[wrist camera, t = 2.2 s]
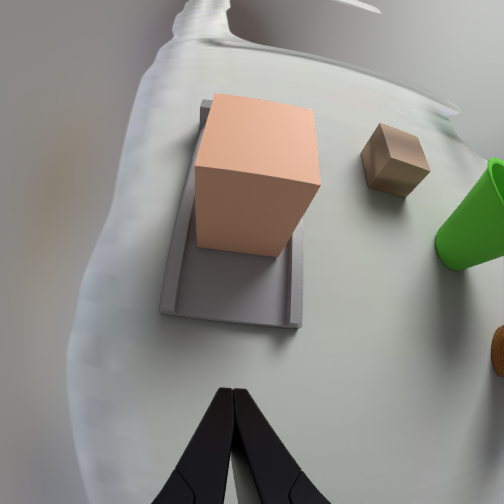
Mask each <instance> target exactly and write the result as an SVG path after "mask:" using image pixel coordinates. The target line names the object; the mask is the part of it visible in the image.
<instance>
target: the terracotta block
mask: <svg viewBox="0 0 504 504" xmlns="http://www.w3.org/2000/svg"><path fill="white" fill-rule="evenodd" d="M320 186H321V182H320V170H319V159H318V149H317V139H316V130H315V122H314V114H313V110H310V109H305V108H301V107H296V106H292V105H287V104H282V103H276V102H271V101H265V100H259V99H253V98H247V97H240V96H232V95H224V94H215V95H214V98H213V102H212V105H211V108H210V112H209V115H208V118H207V122H206V125H205V129H204V132H203V136H202V139H201V143H200V147H199V151H198V154H197V158H196V162H195V208H196V234H197V247H200V248H208V249H216V250H223V251H231V252H239V253H247V254H254V255H262V256H270V257H279V255H280V254H281V252H282V250H283V249H284V247H285V245H286V244H287V242H288V240H289V239H290V237H291V235H292V234H293V232H294V230H295V228H296V227H297V225H298V223H299V222H300V220H301V218H302V217H303V215H304V213H305V212H306V210H307V208H308V206H309V205H310V203H311V201H312V199H313V198H314V196H315V194H316V193H317V191H318V189H319V187H320Z"/></svg>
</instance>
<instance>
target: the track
mask: <svg viewBox="0 0 504 504" xmlns="http://www.w3.org/2000/svg"><path fill="white" fill-rule="evenodd" d="M212 102H213V100H202V103H201V106H200V130H199V134H198V137H197V140H196V144H195V147H194V151H193V155H192V158H191V162H190V166H189V169H188V173H187V177H186V181H185V185H184V189H183V193H182V197H181V201H180V205H179V210H178V214H177V218H176V223H175V227H174V232H173V236H172V241H171V246H170V251H169V256H168V261H167V266H166V272H165V277H164V283H163V288H162V294H161V300H160V306H159V312H160V313H162V314H169V315H176V316H182V317H190V318H197V319H205V320H213V321H221V322H230V323H239V324H249V325H259V326H270V327H283V328H296V329H299V328H301V327H302V302H303V217H302V218H301V220H300V222H299V223H298V225H297V227H296V228H295V230H294V232H293V234H292V235H291V237H290V239H289V240H288V242H287V244H286V245H285V247H284V249H283V250H282V252H281V254H280V255H279V257H270V256H262V255H254V254H247V253H239V252H231V251H223V250H216V249H208V248H200V247H197V234H196V208H195V162H196V158H197V154H198V151H199V147H200V143H201V139H202V136H203V132H204V129H205V125H206V122H207V118H208V115H209V112H210V108H211V105H212Z"/></svg>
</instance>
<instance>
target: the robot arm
mask: <svg viewBox="0 0 504 504" xmlns="http://www.w3.org/2000/svg"><path fill="white" fill-rule="evenodd" d="M230 454H231V461H232V468H233V474H234V480H235V487H236V493H237V498H238V504H331V503H330V502H329V501H328V500H327V499H326V498H325V497H324V496H323V495H322V494H321V493H320V492H319V491H318V489H317V488H316V487H315V486H314V485H313V483H312V482H311V481H310V480H309V478H308V477H307V476H306V474H305V473H304V472H303V471H301V468H300V467H299V465H298V464H297V462H296V461H295V460H294V458H293V457H292V456H291V454H290V453H289V451H288V450H287V449H286V447H285V446H284V444H283V443H282V441H281V440H280V439H279V437H278V436H277V434H276V433H275V431H274V430H273V428H272V427H271V426H270V424H269V423H268V421H267V420H266V418H265V417H264V415H263V414H262V412H261V411H260V409H259V407H258V406H257V404H256V403H255V401H254V400H253V398H252V397H251V395H250V393H249V392H248V391H247V390H246V389H240V388H235V389H233V390H232V389H231V388H222V387H221V388H219V389H218V390H217V392H216V394H215V396H214V398H213V400H212V402H211V403H210V405H209V407H208V409H207V411H206V413H205V415H204V416H203V418H202V420H201V422H200V424H199V426H198V428H197V429H196V431H195V433H194V435H193V437H192V438H191V440H190V442H189V444H188V446H187V447H186V449H185V451H184V453H183V455H182V456H181V458H180V460H179V462H178V463H177V465H176V467H175V469H174V470H173V472H172V474H171V475H170V477H169V479H168V480H167V482H166V484H165V485H164V487H163V488H162V490H161V491H160V493H159V494H158V495H157V497H156V498H155V499H154V500H153V502H152V503H151V504H224V497H225V490H226V483H227V476H228V469H229V461H230Z"/></svg>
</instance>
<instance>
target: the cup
mask: <svg viewBox="0 0 504 504" xmlns="http://www.w3.org/2000/svg"><path fill="white" fill-rule="evenodd" d="M487 166H488V168H487V169H486V171H485V172H484V173H483V175H482V176H481V178H480V179H479V180H478V182H477V183H476V184H475V186H474V187H473V188H472V190H471V191H470V192H469V193H468V195H467V196H466V197H465V199H464V200H463V201H462V202H461V204H460V205H459V206H458V207H457V209H456V210H455V211H454V212H453V213H452V215H451V216H450V217H449V218H448V219H447V221H446V222H445V223H444V224H443V225H442V226H441V228H440V229H439V230H438V232H437V235H436V239H435V244H436V249H437V252H438V255H439V257H440V259H441V260H442V262H443V263H444V264H445V265H446V266H447V267H448V268H450V269H452V270H463V269H466V268H469V267H472V266H475V265H478V264H481V263H484V262H487V261H490V260H493V259H496V258H499V257H501V256H504V162H503V161H502V160H500V159H498V158H491V159H490V160H489V161H488V165H487Z"/></svg>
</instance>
